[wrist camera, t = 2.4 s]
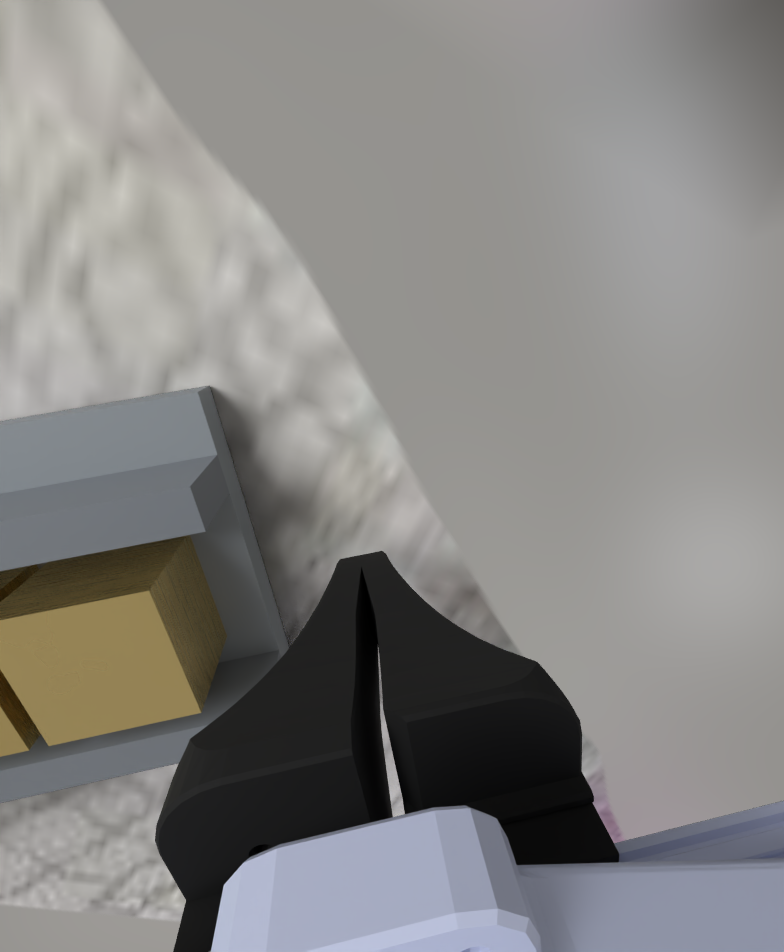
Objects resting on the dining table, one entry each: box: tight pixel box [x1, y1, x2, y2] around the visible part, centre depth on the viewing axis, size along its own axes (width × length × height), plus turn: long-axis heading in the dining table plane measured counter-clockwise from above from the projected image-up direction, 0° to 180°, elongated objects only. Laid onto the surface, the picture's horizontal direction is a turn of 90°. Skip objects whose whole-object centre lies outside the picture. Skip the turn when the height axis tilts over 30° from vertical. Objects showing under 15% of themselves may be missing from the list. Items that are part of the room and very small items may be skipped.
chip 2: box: [0, 535, 227, 746], centre depth 12 cm, size 4×4×3 cm
